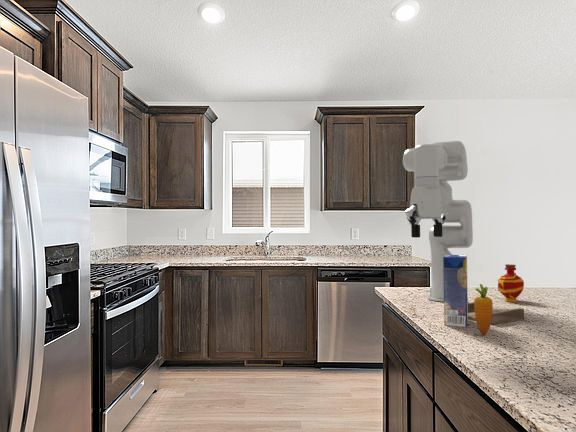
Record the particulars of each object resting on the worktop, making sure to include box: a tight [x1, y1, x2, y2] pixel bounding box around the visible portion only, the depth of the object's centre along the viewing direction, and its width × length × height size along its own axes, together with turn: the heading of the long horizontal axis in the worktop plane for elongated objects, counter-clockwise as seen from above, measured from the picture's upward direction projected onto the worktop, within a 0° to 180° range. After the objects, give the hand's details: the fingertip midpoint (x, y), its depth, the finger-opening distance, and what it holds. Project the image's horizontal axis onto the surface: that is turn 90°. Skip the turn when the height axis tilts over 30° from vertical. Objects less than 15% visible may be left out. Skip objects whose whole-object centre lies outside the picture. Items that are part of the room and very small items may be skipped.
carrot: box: [473, 283, 494, 337], centre depth 128 cm, size 5×5×15 cm
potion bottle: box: [497, 263, 525, 303], centre depth 184 cm, size 10×10×15 cm
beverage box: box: [443, 254, 469, 328], centre depth 146 cm, size 7×11×22 cm, turn 156°
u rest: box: [468, 301, 525, 326], centre depth 153 cm, size 17×16×4 cm
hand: (427, 237), depth 140 cm, fingers open, 9 cm apart
